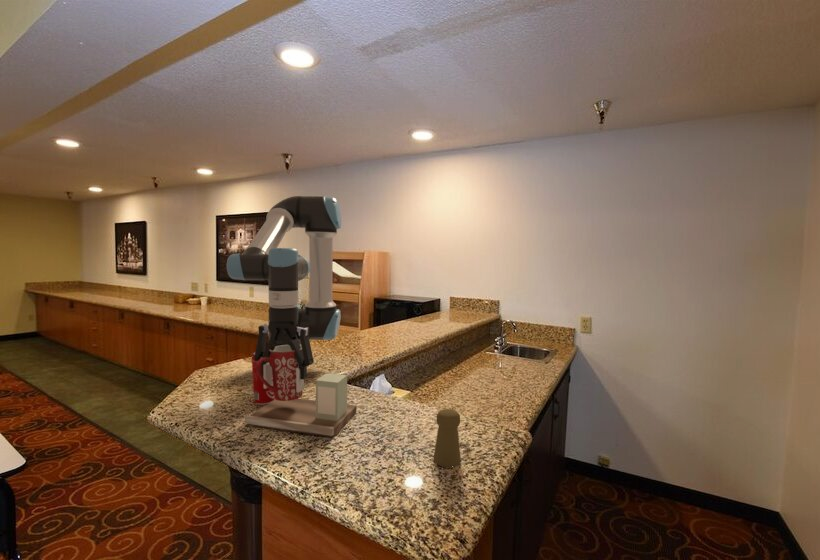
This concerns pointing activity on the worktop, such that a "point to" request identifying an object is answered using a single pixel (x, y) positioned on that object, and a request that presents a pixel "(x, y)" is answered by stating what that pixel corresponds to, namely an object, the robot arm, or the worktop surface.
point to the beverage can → (260, 387)
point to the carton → (331, 396)
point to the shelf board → (297, 418)
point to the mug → (282, 373)
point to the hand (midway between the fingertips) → (283, 388)
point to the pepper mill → (447, 438)
